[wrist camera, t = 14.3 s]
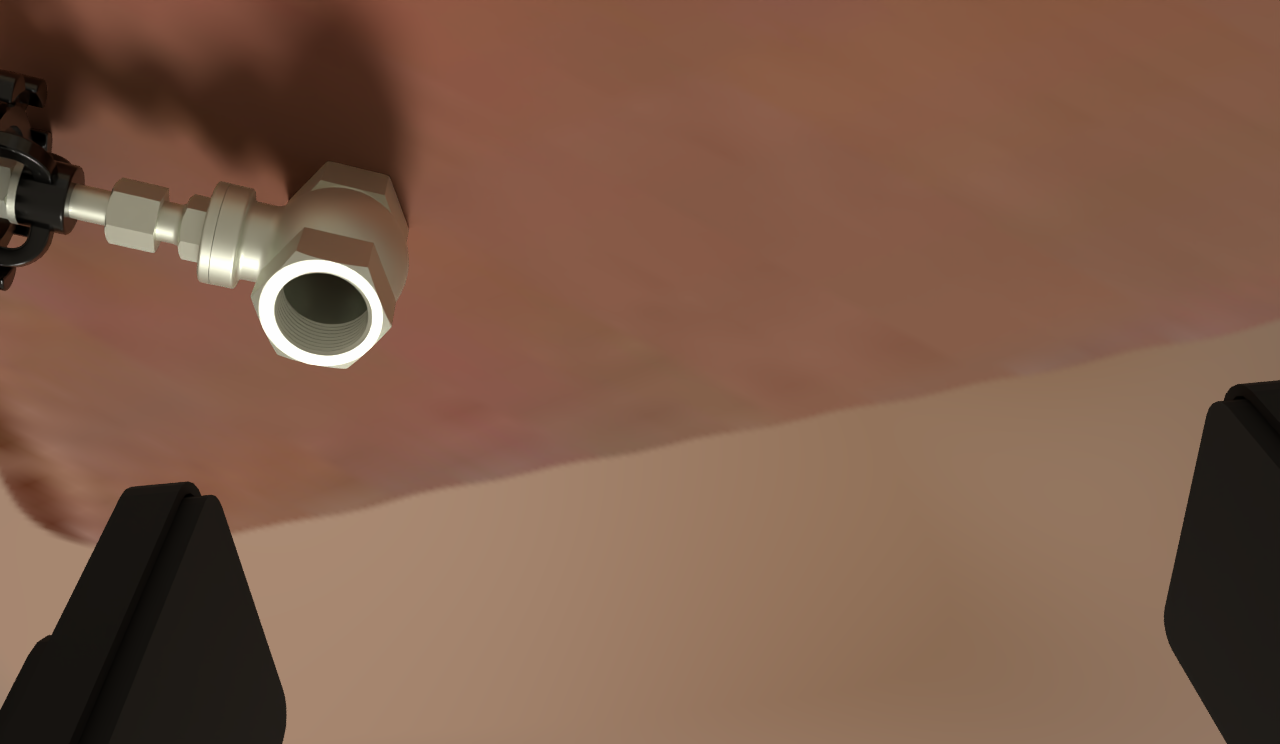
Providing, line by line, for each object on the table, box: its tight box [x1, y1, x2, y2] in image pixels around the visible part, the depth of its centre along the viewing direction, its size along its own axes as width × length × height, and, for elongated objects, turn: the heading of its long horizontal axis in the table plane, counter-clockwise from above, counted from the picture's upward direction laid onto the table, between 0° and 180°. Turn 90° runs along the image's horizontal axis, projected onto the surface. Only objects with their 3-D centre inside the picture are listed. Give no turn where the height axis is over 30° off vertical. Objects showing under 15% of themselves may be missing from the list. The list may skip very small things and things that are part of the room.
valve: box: [0, 69, 409, 369], centre depth 35 cm, size 7×7×12 cm
